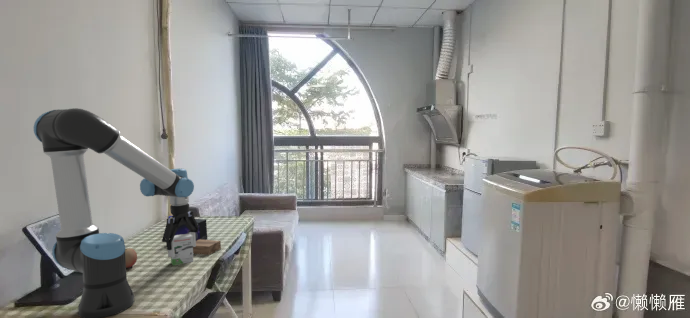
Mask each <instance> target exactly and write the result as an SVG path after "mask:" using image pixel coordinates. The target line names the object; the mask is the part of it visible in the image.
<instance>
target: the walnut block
mask: <svg viewBox="0 0 690 318" xmlns="http://www.w3.org/2000/svg"><path fill="white" fill-rule="evenodd" d="M221 245H222V243H221V240H212V239H207V240H202V239H199V240H197V241H196V247H193V253H194V254H195V255H205V256H210V255H212V254H214V253H216V252H218V251H220V250H221V249H222V246H221ZM194 254H193V255H194Z"/></svg>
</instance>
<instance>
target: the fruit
mask: <svg viewBox="0 0 690 318" xmlns="http://www.w3.org/2000/svg"><path fill="white" fill-rule="evenodd" d="M125 258H126V269H129V268H131V267H133V266H134V265H135V264H136V263H137V260H138V254H137V252H136V250H135V249H133V248H131V247H127V248H125Z"/></svg>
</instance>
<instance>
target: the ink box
mask: <svg viewBox="0 0 690 318" xmlns="http://www.w3.org/2000/svg"><path fill="white" fill-rule="evenodd" d="M172 242H174V253H175V257H170V263H171V265H172V266H177V265H181V264H187V263H193V262H194V254H193V238H192V235H191V234H190V233H189V234H182V235H175V236H174V238H173V240H172Z"/></svg>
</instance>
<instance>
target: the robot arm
mask: <svg viewBox="0 0 690 318" xmlns="http://www.w3.org/2000/svg"><path fill="white" fill-rule="evenodd" d="M33 133H34V135H35V137H36V139H37V140H38V141H39V142H41V143H42V144H41V145H42V150H43V153H44V154H45V155H46V156H48V157H50V158H49V159H50V161H51V168H52V169H51V170H52V176H53V183H54V190H55V198H56V205H57V210H58V211H57V212H58V218H59V224H60V229H59V231H57V232H56V234H55V238H56V241H55V243H54V244H53V247H52V250H51V254H52V255H51V256H52V259H53V260H54V262H55V263H56V264H57V265H59V266H61V267H62V268H64V269H65V270H66V269H67V270H70V271H75V272H79V273H81V274H82V281H83V291H82V293H81V296H80V297H81V298H80V302H79V304H78V307H77V309H78V310H77V312H78V316H79V317H80V318H106V317H110V316H113V315H116V314H120V313H121V312H124V311H126V310H127V309H129V308H130V307H131V306H133V305H134V303H135V295H134V292H133V290H132V288H131V285H130V284H129V282H128V278H127V276H128V275H127V268H126V258H125V249H126V243H125V239H124V237H123V236H122V235H120V234H118V233H113V232H109V233H107V232H102V233H101V232H100V229H99V226H98V225H96V224H95V223H93V217H92V210H91V203H90V194H89V188H88V186H89V185H88V182H87V181H88V180H87V173H86V166H85V165H86V164H85V159H84V155H85V153H86V152H88V150H89V149H90V150H92V151H93V152H95V153H96V154H100V155H101V154H105V155H106V156H108V157H110V158H111V159H112V160H114V161H116V162H117V163H119V164H120V165H122V166H124V167H126V168H127V169H128V170H131V171H132V172H134V173H135V174H137V175H138V176H141V177H142V178H143V179H142V180H141V181H140V184H139V189H140V193H141V194H142V196H144V197H155V196H166V197H169V204H170V207H169V208H170V214H171V216H173V217H170V218H168V217H167V218H166V225H165V228H164V233H163V236H162V238H161V242H162V243H166V250H167V257H168V258H171V257H175V253H174V242H172V240H173V238H174V236H175V234H176V231H177V229H178V228H179V227H180V226H181V225H183V224H185V225H186V227H187V228H188V229H189V230H190V231H191V232H189V233H190V234H191V235H192V238H193V247H196V232H198V230H197V229H199V226H198V224H197V222H196V220H195V219H196V218H195V215H194V211H190V204H189V202H190V201H189V200H190V199H189V197H190V196H191V195H192V194H193V192H194V190H195V184H194V182H193V180H192V179H190V178H189V177H188V171H187V169H185V168H172V169H171V168H168V167H167V166H166V165H164V164H162V163H161V162H159V161H158V160H157V159H155V158H154V157H152V156H151V155H150V154H148V153H147V152H146V151H143V150H142V149H141V148H139V146H137V145H135V144H134V143H132V142H131V141H129V140H128V139H126V138H125V137H124V136H123V135H121V131H120V129H119V128H116V127H115V126H114V125H112V124H111V123H109V122H108V121H107V120H105V119H104V118H101V117H100V116H99V115H96V114H95V113H93V112H91V111H89V110H86V109H84V108H66V109H53V110H49V111H47V112H44V113H42V114H41V115H39V116H38V117H37V119H36V120H35V121H34V124H33Z"/></svg>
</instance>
